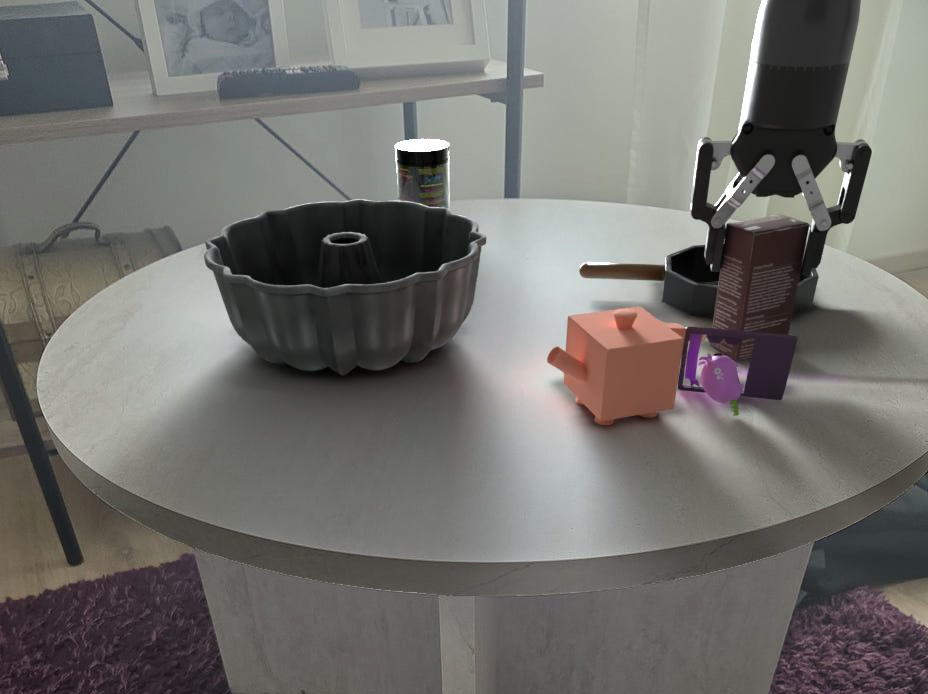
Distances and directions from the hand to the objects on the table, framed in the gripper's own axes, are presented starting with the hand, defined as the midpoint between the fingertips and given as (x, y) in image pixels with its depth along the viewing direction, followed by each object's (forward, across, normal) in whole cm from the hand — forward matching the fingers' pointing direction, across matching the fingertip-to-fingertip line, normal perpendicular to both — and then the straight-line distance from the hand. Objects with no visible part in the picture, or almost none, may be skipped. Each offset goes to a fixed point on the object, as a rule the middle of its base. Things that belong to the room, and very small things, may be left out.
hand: (759, 270), depth 82 cm
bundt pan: (+8, -38, -1) cm, 39 cm away
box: (+8, 0, 0) cm, 8 cm away
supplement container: (+8, -38, +36) cm, 53 cm away
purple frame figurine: (+8, -2, -11) cm, 14 cm away
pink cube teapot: (+8, -12, -13) cm, 19 cm away
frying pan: (+8, -5, +14) cm, 17 cm away
